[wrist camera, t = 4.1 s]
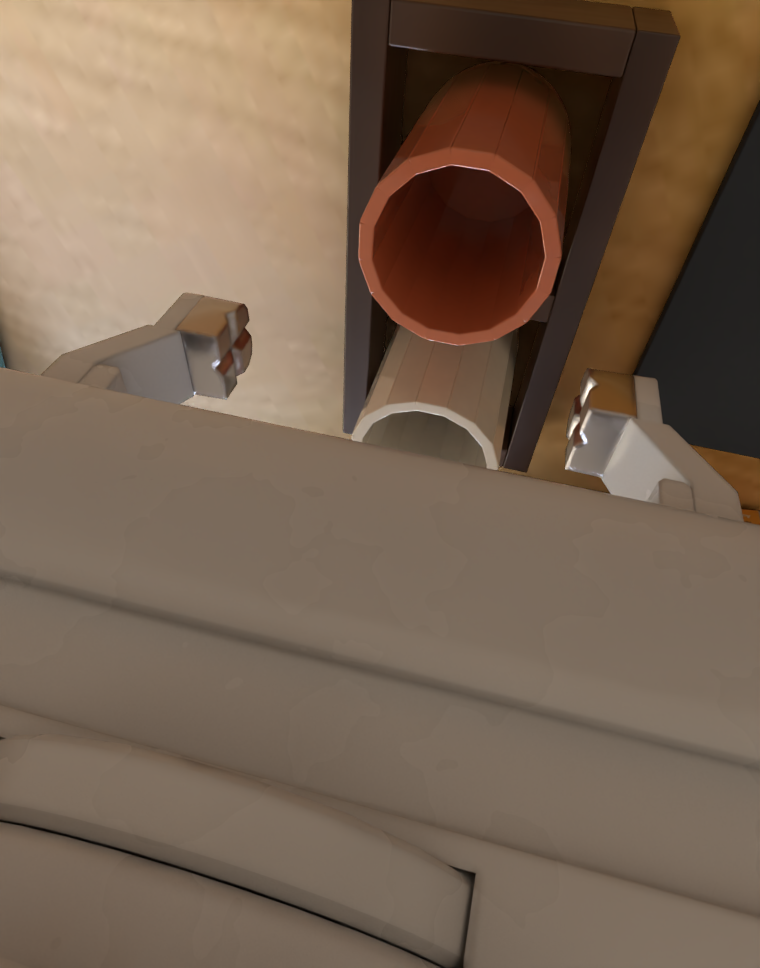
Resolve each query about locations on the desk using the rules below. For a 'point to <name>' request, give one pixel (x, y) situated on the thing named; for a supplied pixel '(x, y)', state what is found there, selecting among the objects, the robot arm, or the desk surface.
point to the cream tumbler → (441, 398)
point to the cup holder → (617, 143)
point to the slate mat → (716, 320)
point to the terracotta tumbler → (472, 208)
